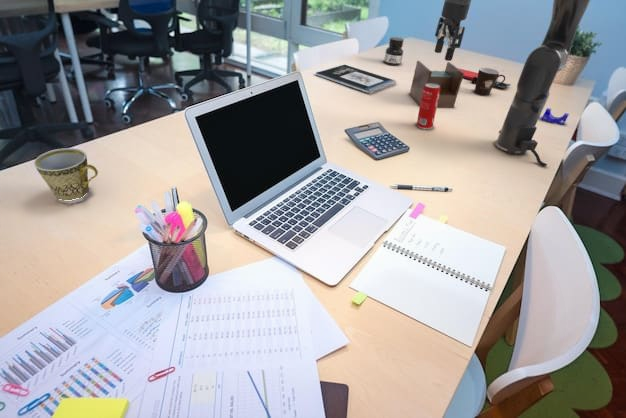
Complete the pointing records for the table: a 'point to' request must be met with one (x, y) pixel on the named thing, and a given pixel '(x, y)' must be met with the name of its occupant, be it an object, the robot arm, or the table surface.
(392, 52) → the ink bottle
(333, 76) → the sketchbook
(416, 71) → the shelf
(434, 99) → the beverage can
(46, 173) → the ceramic cup
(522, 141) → the robot arm
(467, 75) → the red board with handle
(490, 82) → the coffee mug
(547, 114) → the cable holder
